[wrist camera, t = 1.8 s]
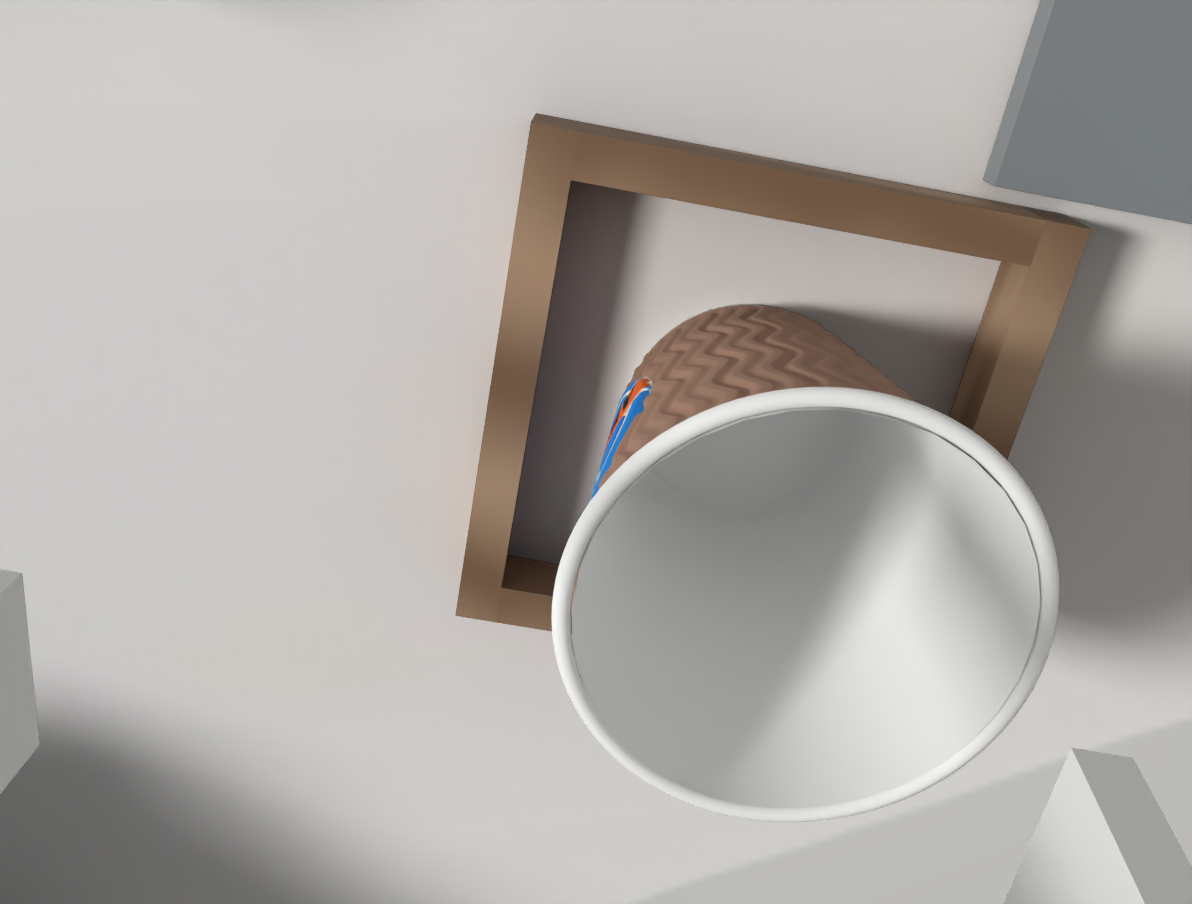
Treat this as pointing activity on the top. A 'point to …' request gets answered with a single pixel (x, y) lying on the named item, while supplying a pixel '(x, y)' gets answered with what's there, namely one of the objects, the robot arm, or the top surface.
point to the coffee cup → (797, 578)
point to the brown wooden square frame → (765, 188)
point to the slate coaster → (1103, 108)
